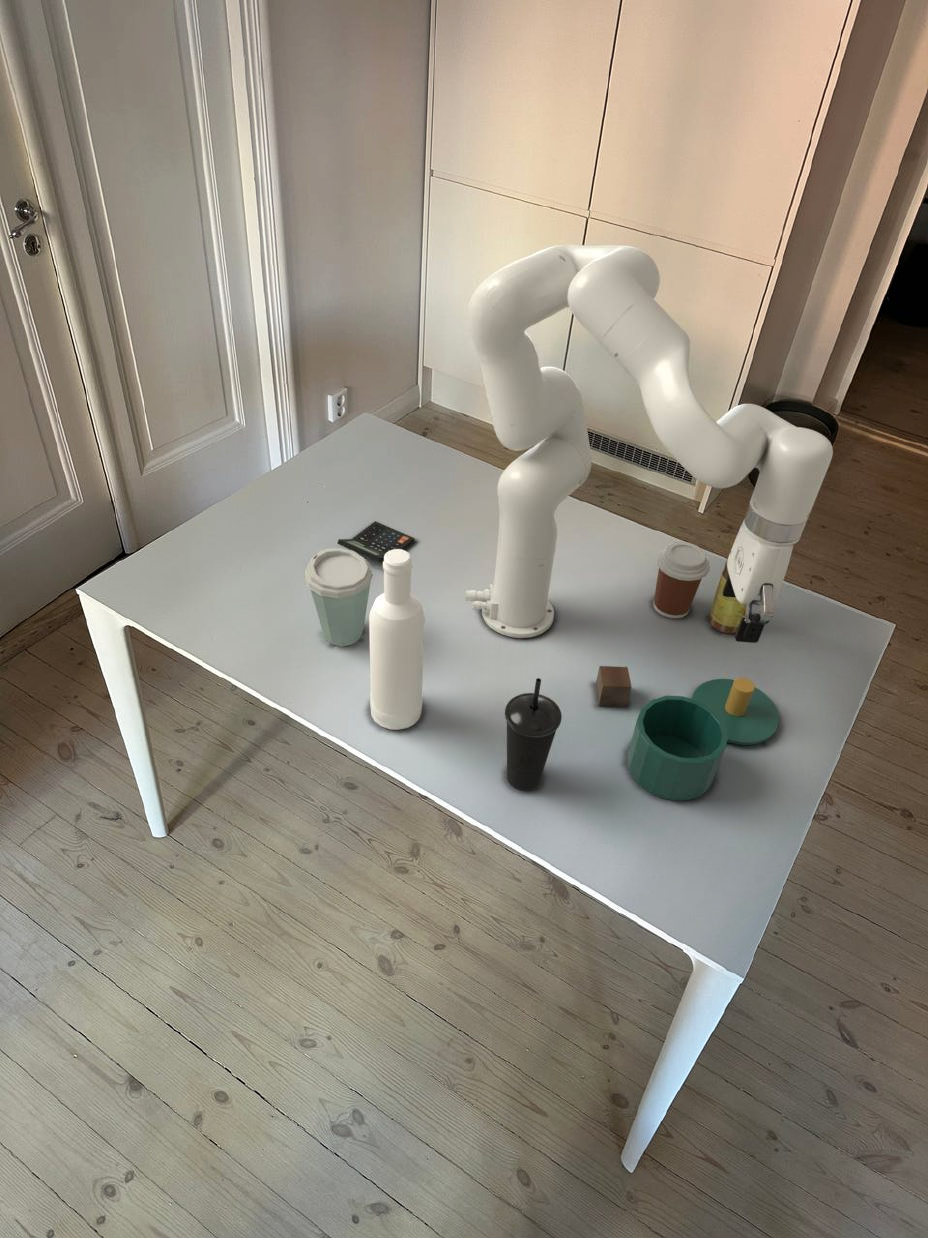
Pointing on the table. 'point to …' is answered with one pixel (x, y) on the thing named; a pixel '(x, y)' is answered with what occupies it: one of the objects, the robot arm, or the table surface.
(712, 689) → the tin lid
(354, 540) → the calculator
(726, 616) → the sauce bottle
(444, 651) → the table surface
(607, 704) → the block
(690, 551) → the coffee cup
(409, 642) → the bottle
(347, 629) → the disposable coffee cup
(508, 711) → the drinking cup
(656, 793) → the tin
